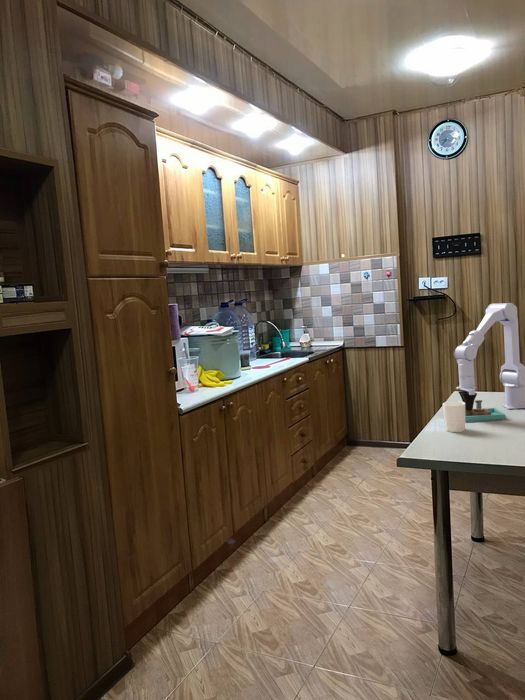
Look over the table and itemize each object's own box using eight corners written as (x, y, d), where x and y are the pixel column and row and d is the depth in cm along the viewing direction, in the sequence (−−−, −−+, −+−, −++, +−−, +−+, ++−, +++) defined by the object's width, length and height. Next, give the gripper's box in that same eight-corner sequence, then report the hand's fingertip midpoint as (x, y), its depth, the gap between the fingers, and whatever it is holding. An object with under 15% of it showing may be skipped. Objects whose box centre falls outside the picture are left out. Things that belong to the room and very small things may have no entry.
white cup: (442, 432, 201) (440, 405, 200) (446, 426, 208) (444, 400, 207) (465, 433, 197) (463, 405, 196) (468, 427, 204) (466, 401, 203)
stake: (481, 409, 229) (481, 399, 229) (483, 410, 227) (482, 400, 227) (475, 410, 230) (474, 400, 229) (476, 411, 228) (475, 401, 227)
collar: (485, 413, 220) (485, 401, 220) (491, 417, 213) (491, 404, 213) (460, 413, 222) (460, 401, 221) (464, 417, 215) (464, 405, 214)
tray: (495, 412, 222) (495, 407, 222) (505, 419, 211) (505, 414, 210) (454, 415, 224) (454, 410, 224) (462, 422, 212) (462, 417, 212)
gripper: (451, 373, 224) (453, 406, 225) (460, 379, 209) (462, 414, 211) (469, 372, 223) (471, 405, 224) (479, 377, 209) (481, 413, 210)
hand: (468, 409), depth 218 cm, fingers closed on collar, 2 cm apart
